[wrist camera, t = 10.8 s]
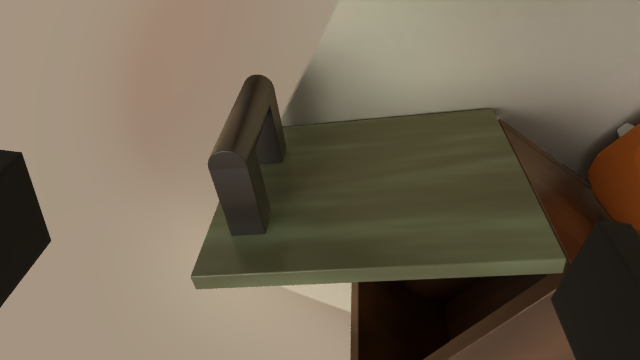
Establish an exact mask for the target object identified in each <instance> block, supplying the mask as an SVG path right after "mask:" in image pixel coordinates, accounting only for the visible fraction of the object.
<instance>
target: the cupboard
mask: <svg viewBox="0 0 640 360" xmlns="http://www.w3.org/2000/svg"><path fill="white" fill-rule="evenodd" d="M498 122H499V124H500V126H501V128H502V130H503V132H504V134H505V136H506V138H507V140H508V142H509V144H510V146H511V148H512V150H513V152H514V154H515V156H516V158H517V160H518V162H519V164H520V166H521V168H522V170H523V172H524V174H525V176H526V178H527V180H528V182H529V184H530V186H531V188H532V190H533V192H534V194H535V196H536V199H537V201H538V203H539V205H540V207H541V209H542V211H543V213H544V215H545V217H546V219H547V221H548V223H549V225H550V227H551V229H552V231H553V233H554V235H555V237H556V239H557V241H558V243H559V245H560V247H561V249H562V251H563V253H564V255H565V257H566V262H565V266H564V270H563V273H555V274H532V275H509V276H486V277H464V278H441V279H418V280H395V281H372V282H352V294H351V360H576V359H575V357H574V354H573V352H572V350H571V347H570V345H569V342H568V340H567V338H566V335H565V333H564V330H563V328H562V326H561V323H560V321H559V318H558V316H557V314H556V311H555V309H554V306H553V304H552V302H551V297H552V296H553V294H554V292H555V291H556V289H557V287H558V286H559V284H560V282H561V281H562V279H563V277H564V275H565V274H566V272H567V270H568V269H569V267H570V265H571V264H572V262H573V260H574V259H575V257H576V255H577V254H578V252H579V250H580V248H581V247H582V245H583V243H584V242H585V240H586V238H587V237H588V235H589V233H590V232H591V230H592V228H593V227H594V225H595V223H596V221H597V220H602V221H610V222H613V221H612V220H611V218H610V217H609V216H608V214H607V213H606V212H605V211H604V209H603V208H602V207H601V205H600V204H599V203H598V201H597V200H596V199H595V196H594V194H593V190H592V187H591V185H590V184H589V183H587V182H586V181H585V180H583V179H582V178H580V177H579V176H578V175H576V174H575V173H573V172H572V171H571V170H569V169H568V168H567V167H565V166H564V165H562V164H561V163H560V162H558V161H557V160H555V159H554V158H553V157H551V156H550V155H548V154H547V153H546V152H544V151H543V150H541V149H540V148H539V147H537V146H536V145H534V144H533V143H532V142H530V141H529V140H527V139H526V138H525V137H523V136H522V135H521V134H519V133H518V132H516V131H515V130H514V129H512V128H511V127H509V126H508V125H507V124H505V123H504V122H502V121H501V120H498Z"/></svg>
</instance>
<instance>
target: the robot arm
mask: <svg viewBox="0 0 640 360" xmlns="http://www.w3.org/2000/svg"><path fill="white" fill-rule="evenodd" d="M50 241H51V239H50V236H49V233H48V230H47V227H46V224H45V221H44V218H43V215H42V212H41V209H40V206H39V203H38V200H37V197H36V194H35V191H34V188H33V185H32V182H31V179H30V176H29V173H28V170H27V167H26V164H25V161H24V158H23V155H22V153H21V152H14V151H5V150H0V307H1V306H2V305H3V303H4V302H5V301H6V299H7V298H8V297H9V295H10V294H11V293H12V291H13V290H14V289H15V288H16V286H17V285H18V283H19V282H20V281H21V280H22V278H23V277H24V276H25V274H26V273H27V272H28V271H29V269H30V268H31V267H32V265H33V264H34V263H35V261H36V260H37V259H38V258H39V256H40V255H41V254H42V252H43V251H44V250H45V248H46V247H47V246H48V244H49V243H50ZM551 302H552V304H553V306H554V309H555V311H556V314H557V316H558V318H559V321H560V323H561V326H562V328H563V330H564V333H565V335H566V338H567V340H568V342H569V345H570V347H571V350H572V352H573V354H574V357H575V359H576V360H640V236H639V235H638V233H637V232H636V231H635V229H634V228H633V226H632V225H631V224H627V223H619V222H610V221H602V220H597V221H596V223H595V225H594V227H593V228H592V230H591V232H590V233H589V235H588V237H587V238H586V240H585V242H584V243H583V245H582V247H581V248H580V250H579V252H578V254H577V255H576V257H575V259H574V260H573V262H572V264H571V265H570V267H569V269H568V270H567V272H566V274H565V275H564V277H563V279H562V281H561V282H560V284H559V286H558V287H557V289H556V291H555V292H554V294H553V296H552V297H551Z"/></svg>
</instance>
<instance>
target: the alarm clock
mask: <svg viewBox="0 0 640 360" xmlns="http://www.w3.org/2000/svg"><path fill="white" fill-rule="evenodd" d="M617 133H618V136H619V138H618V139H617V140H616V141H614V142H613V143H612V144H610V145H609V146H607V147H606V148H605V149H603V150H602V151H601V152H599V153H598V154H597V155H596V157H595V159H594V161H593V163H592V165H591V166H590V168H589V170H588V172H587V174H588V177H589V181H590V184H591V187H592V190H593V194H594V196H595V199H596V200H597V201H598V203H599V204H600V205H601V207H602V208H603V209H604V211H605V212H606V213H607V214H608V216H609V217H610V218H611V220H612V221H613V222H619V223H627V224H631V225H632V226H633V228H634V229H635V231H636V232H637V233H638V235H639V236H640V123H639V124H638V125H636V126H634V125H632V124H630V123H625V124H624V125H623V126H621V127H620V128H618V129H617Z"/></svg>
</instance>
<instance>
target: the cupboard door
mask: <svg viewBox="0 0 640 360" xmlns="http://www.w3.org/2000/svg"><path fill="white" fill-rule="evenodd" d="M208 168H209V171H210V174H211V177H212V180H213V183H214V186H215V189H216V192H217V195H218V198H219V204H218V206H217V209H216V212H215V214H214V217H213V220H212V222H211V225H210V227H209V230H208V232H207V235H206V238H205V240H204V243H203V245H202V248H201V251H200V253H199V256H198V259H197V261H196V264H195V266H194V269H193V272H192V274H191V279H192V281H193V283H194V285H195V288H196V289H212V288H235V287H258V286H281V285H304V284H327V283H350V282H372V281H395V280H418V279H441V278H464V277H486V276H509V275H532V274H555V273H563V270H564V266H565V262H566V257H565V255H564V253H563V251H562V249H561V247H560V245H559V243H558V241H557V239H556V237H555V235H554V233H553V231H552V229H551V227H550V225H549V223H548V221H547V219H546V217H545V215H544V213H543V211H542V209H541V207H540V205H539V203H538V201H537V199H536V196H535V194H534V192H533V190H532V188H531V186H530V184H529V182H528V180H527V178H526V176H525V174H524V172H523V170H522V168H521V166H520V164H519V162H518V160H517V158H516V156H515V154H514V152H513V150H512V148H511V146H510V144H509V142H508V140H507V138H506V136H505V134H504V132H503V130H502V128H501V126H500V124H499V122H498V120H497V118H496V115H495V113H494V111H493V109H482V110H470V111H459V112H448V113H437V114H426V115H415V116H404V117H393V118H382V119H371V120H359V121H348V122H337V123H326V124H315V125H304V126H293V127H282V123H281V119H280V114H279V109H278V104H277V100H276V95H275V90H274V86H273V84H272V82H271V81H270V80H269V79H268V78H267V77H265V76H263V75H252V76H250V77H248V78H247V79H246V81H245V82H244V84H243V87H242V89H241V91H240V93H239V96H238V97H237V100H236V102H235V104H234V106H233V108H232V110H231V113H230V115H229V117H228V119H227V121H226V123H225V126H224V128H223V130H222V132H221V134H220V136H219V138H218V140H217V143H216V145H215V147H214V149H213V151H212V153H211V156H210V158H209V160H208Z"/></svg>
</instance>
